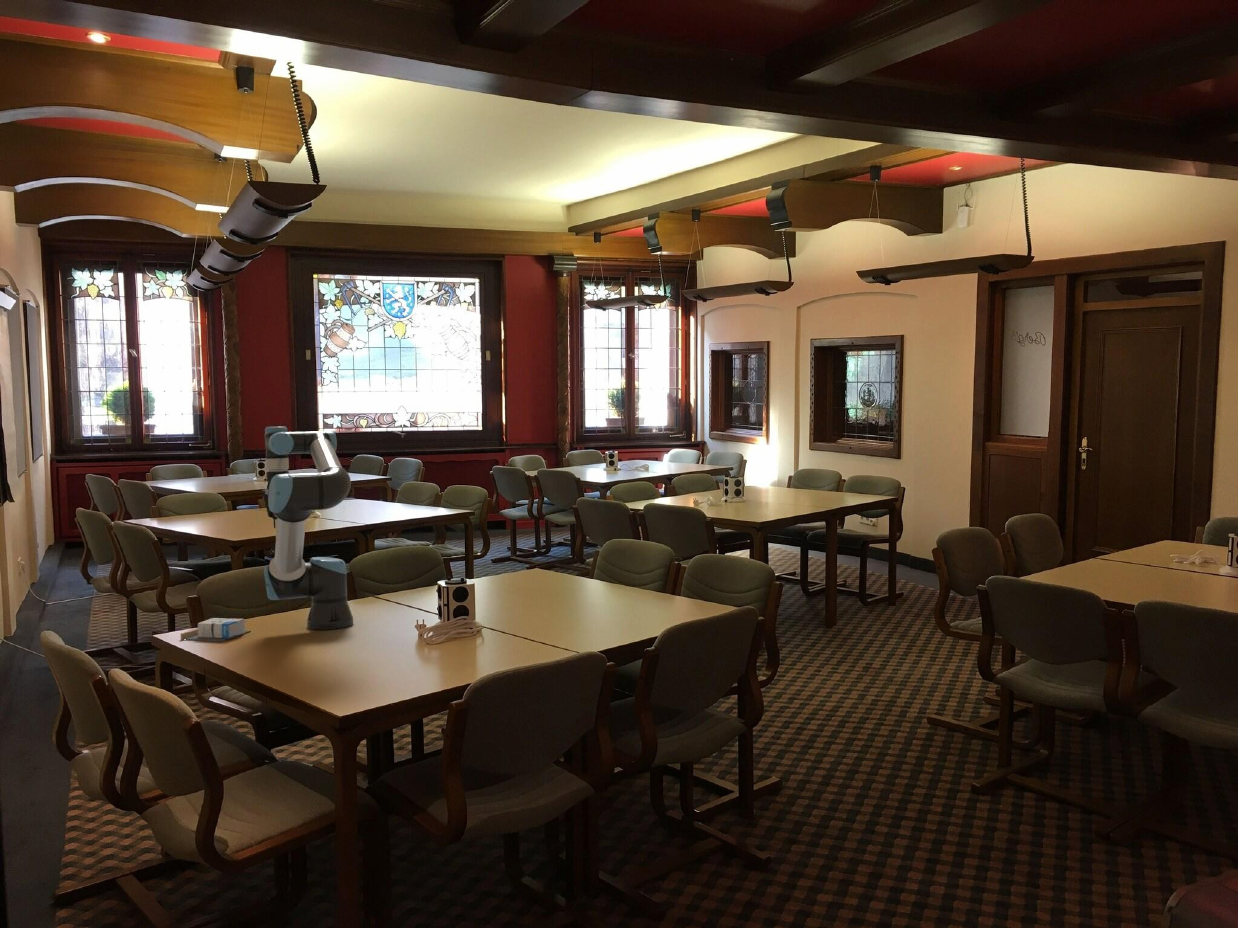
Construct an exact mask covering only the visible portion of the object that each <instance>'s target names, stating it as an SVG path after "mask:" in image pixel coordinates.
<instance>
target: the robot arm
mask: <svg viewBox="0 0 1238 928" xmlns="http://www.w3.org/2000/svg"><path fill="white" fill-rule="evenodd" d="M337 439H338V438H337V435H336V433H335V432H334V431H328V430H317V431H288V428H287V426H267V427H265V429H264V444H265V470H267V471H266V473H265V474H266V475H265V476H266V482H267V485H266V488H265V489H263V490H261V492H260V493H261V495H262V497H263V499H264V504H265V508H266V513H267V516H268V518H272V519H273V528H274V530H275V548H274V557H273V558H272V559H271V560H270V561H269V564H268V565H265V566H264V567H263V575H264V580H265V588H266V594H267V598H268V599H269V600H270V601H283V600H291V599H300V598H311V607H310V609H309V613H308V617H307V620H306V627H307V629H309V630H316V631H322V630H324V631H328V630H338V629H343V628H347V627H348V628H349V627H351V626H353V625H354V616H353V614H352V611H351V609H350V608H351V607H350V605H349V602H348V585H347V583H348V582H347V579H348V578H347V574H348V572H347V565H346V564H347V563H346V562H345V561H344V560H343V559H340V558H335V557H325V556H316V557H314V556H313V557H311V558H310V560H309V562H305V559H303V554H304V544H305V536H306V535H305V533H306V525H307V520H308V519H310V517H311V516H312V513H313V511H323V510H328V509H332V508H335V507H337V506H338V505H340V504H341V503H342V502H343V501H344V500H345V499H346V498H347V497H348V495H349V493H350V491H351V488H352V487H351V485H352V480H351V477H350V475H349V472H348V471H347V470H346V469H345V468H343V467H342V464H341V462H340V460H339V457H338V456H337V453H336V451H337V448H338V447H337V446H338V441H337ZM296 454H297V455H298V454H302V455H303V454H310V455H311V457H312V461H313V462H314V465H315V468H316V470H317V472H304V473H290V472H289V468H290V466H289V463H290V462H289V461H290V460H289V455H296Z"/></svg>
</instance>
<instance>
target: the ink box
mask: <svg viewBox="0 0 1238 928" xmlns="http://www.w3.org/2000/svg"><path fill="white" fill-rule="evenodd" d="M245 626H246V625H245V619H244V618H223V617H220V618H219V617H211V618H209V619H206V620H204V621H200V622H198V623H197V629H198V637H203V638H230V639H232V638H231V637H233V638H235V637H234V636H237V635H240V634H243V633H245V630H246V629H245ZM243 635H244V634H243ZM240 636H241V635H240ZM237 637H238V636H237Z"/></svg>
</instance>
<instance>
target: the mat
mask: <svg viewBox="0 0 1238 928" xmlns="http://www.w3.org/2000/svg"><path fill="white" fill-rule="evenodd" d="M251 632H252V631H251V630H248V629H245V633H243V634H240V635H237V636H234V637H231V638H203V637H198V628H195V629H192V630H188V631H186V632H182V633H180V640H181V639H186V640H185V641H193V642H195V641H197V642H211V643H212V642H213V643H221V642H223V641H224V642H225V641H227V640H230V639H233V638H236V637H239V636H242V635H245V634H248V633H251Z"/></svg>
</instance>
